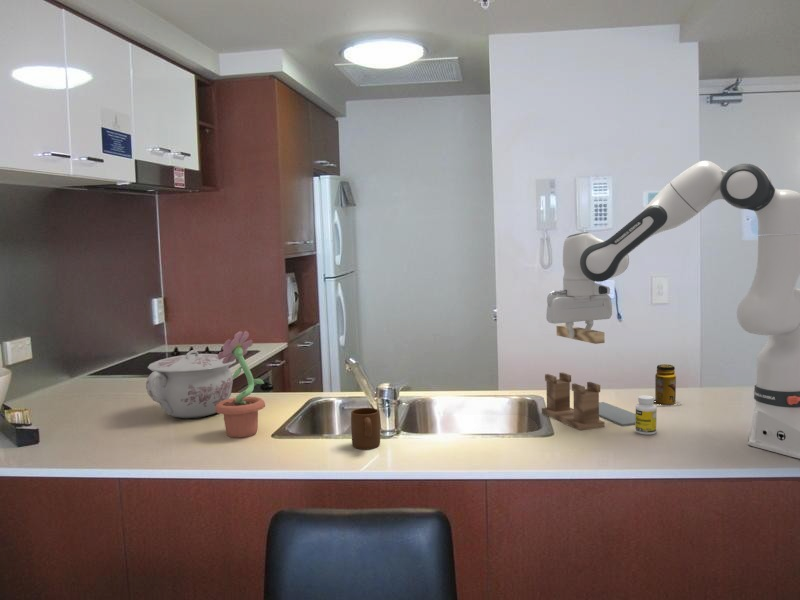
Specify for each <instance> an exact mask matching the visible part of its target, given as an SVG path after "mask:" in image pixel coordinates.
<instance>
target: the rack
mask: <svg viewBox="0 0 800 600" xmlns="http://www.w3.org/2000/svg"><path fill="white" fill-rule="evenodd" d="M558 375H559V376H558V377H559V378H557V376H555V375H552V374H550V373H545V374H544V381H545V383H546V407H541V414H543V413H544V414H543V415H545V414H546V415H545V416H547V415H548V417H549V418H552V419H554V420H556V421H558V422H561V423H563V424H565V425H567V426H569V427H571V428H574V429H576V430H577V431H587V430H592V429H599V428H605V424H606V423H605V421H604V420H601V419H600V417H599V402H600V395H599V394H600V393H601V384H598V383H595V382H592V381H586V387H585V386H584V385H580V384H578V383H571V382H572V375H571V374H568V373H565V372H562V371H561V372H559V374H558ZM570 383H571V384H570ZM570 390H571V391H572V393H573V394H572V395H573V408H572V407H571V391H570Z"/></svg>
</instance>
